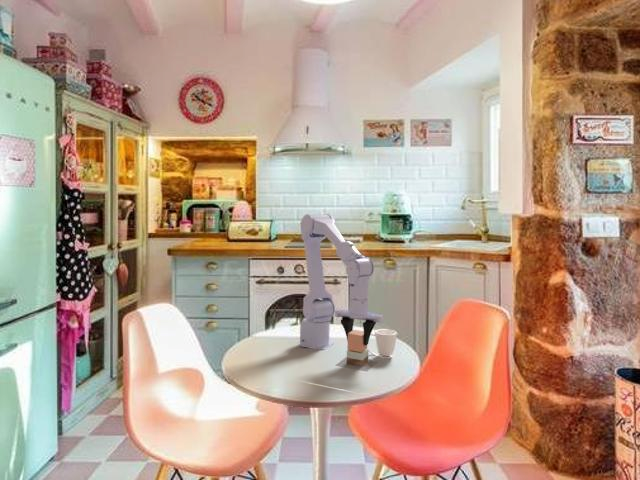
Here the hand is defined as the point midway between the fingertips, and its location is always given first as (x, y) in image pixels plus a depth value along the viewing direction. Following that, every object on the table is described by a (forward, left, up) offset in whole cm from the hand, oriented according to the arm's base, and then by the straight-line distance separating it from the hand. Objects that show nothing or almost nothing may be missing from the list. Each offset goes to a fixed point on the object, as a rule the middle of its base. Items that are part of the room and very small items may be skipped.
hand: (357, 343), depth 142 cm
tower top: (0, 0, -4) cm, 4 cm away
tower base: (0, 0, -6) cm, 6 cm away
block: (0, 0, -2) cm, 2 cm away
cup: (+4, +10, -7) cm, 13 cm away
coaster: (0, 0, -6) cm, 6 cm away
